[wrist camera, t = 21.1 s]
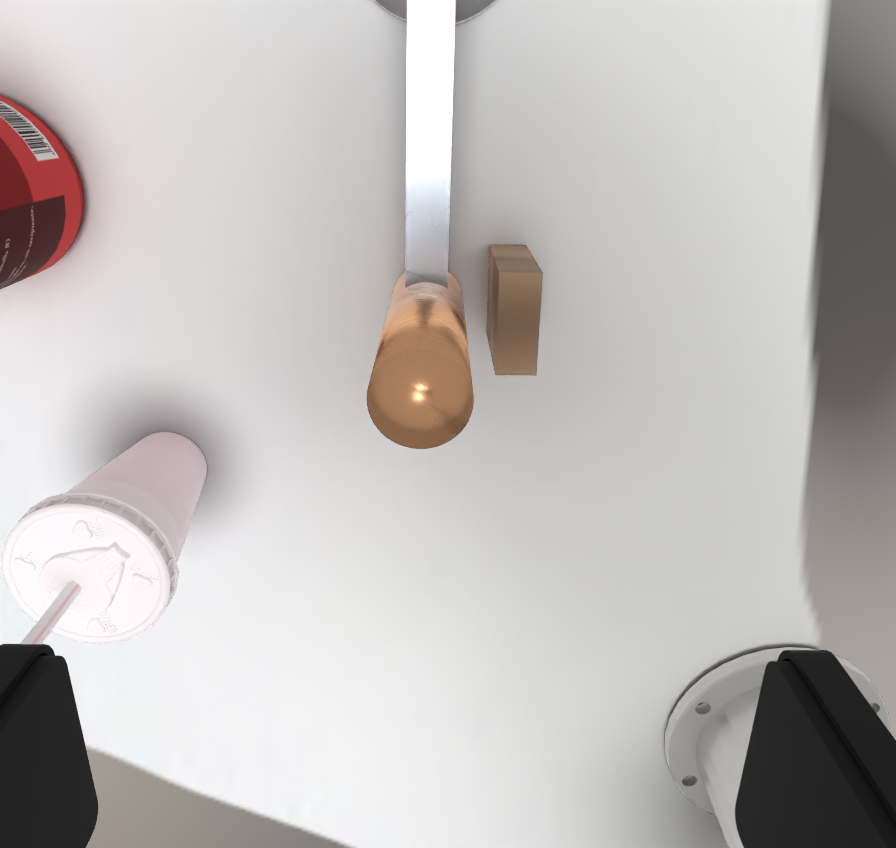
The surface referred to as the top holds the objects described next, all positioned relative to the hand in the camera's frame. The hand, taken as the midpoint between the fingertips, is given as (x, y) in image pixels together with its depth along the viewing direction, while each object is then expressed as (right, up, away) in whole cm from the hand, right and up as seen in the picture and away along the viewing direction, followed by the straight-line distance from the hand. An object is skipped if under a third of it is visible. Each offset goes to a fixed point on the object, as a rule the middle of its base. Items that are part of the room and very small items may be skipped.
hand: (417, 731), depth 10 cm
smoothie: (-13, +2, +28) cm, 31 cm away
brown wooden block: (+3, +10, +24) cm, 26 cm away
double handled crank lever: (0, +16, +20) cm, 26 cm away
